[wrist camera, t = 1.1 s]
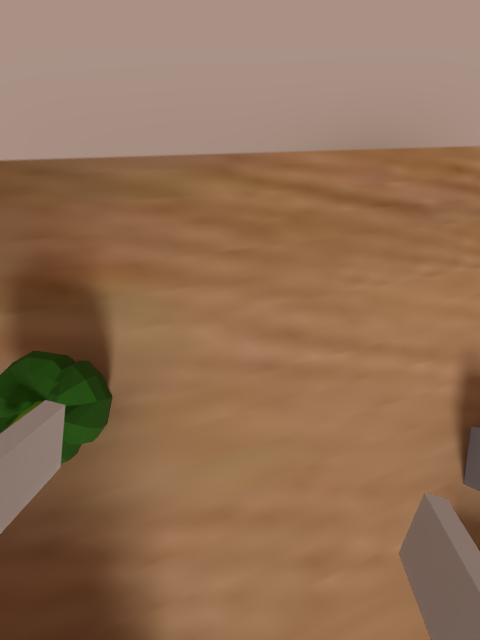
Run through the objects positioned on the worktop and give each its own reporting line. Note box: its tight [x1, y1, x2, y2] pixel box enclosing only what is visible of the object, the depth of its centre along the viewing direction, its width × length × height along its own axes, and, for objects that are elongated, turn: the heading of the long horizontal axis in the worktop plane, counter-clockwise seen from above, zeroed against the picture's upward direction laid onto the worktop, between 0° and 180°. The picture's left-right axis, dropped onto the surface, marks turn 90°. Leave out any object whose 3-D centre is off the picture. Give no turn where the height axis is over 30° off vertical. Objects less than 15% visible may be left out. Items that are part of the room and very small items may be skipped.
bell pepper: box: [0, 351, 112, 463], centre depth 27 cm, size 8×8×10 cm
